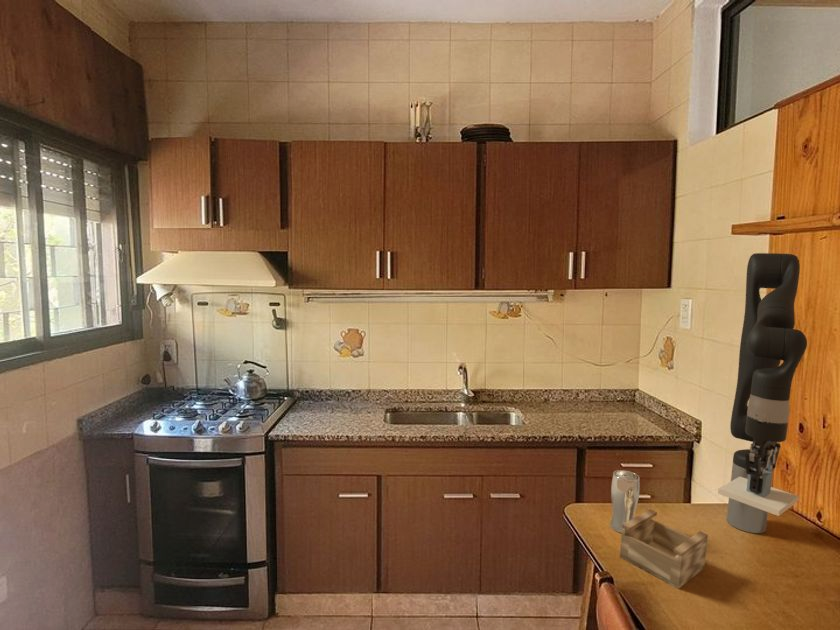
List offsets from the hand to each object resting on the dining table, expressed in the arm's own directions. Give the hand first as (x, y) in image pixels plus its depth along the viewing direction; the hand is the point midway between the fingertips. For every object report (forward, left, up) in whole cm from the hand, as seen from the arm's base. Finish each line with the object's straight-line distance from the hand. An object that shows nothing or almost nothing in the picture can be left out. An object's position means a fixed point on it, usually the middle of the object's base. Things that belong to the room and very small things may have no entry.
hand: (758, 489), depth 110 cm
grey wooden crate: (+11, -15, -21) cm, 28 cm away
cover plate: (0, 0, -2) cm, 2 cm away
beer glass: (+5, -29, -22) cm, 36 cm away
